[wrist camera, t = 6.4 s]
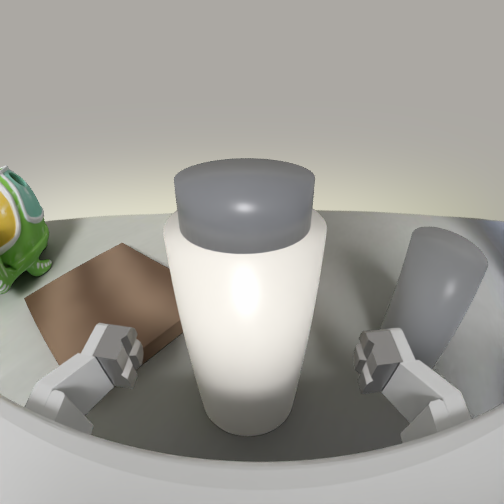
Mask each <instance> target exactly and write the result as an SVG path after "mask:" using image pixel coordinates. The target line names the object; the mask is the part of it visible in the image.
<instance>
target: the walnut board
mask: <svg viewBox="0 0 504 504" xmlns="http://www.w3.org/2000/svg"><path fill="white" fill-rule="evenodd" d="M24 299H25V301H26V304H27V306H28V308H29V310H30V312H31V314H32V317H33V319H34V321H35V323H36V325H37V327H38V329H39V330H40V332H41V334H42V336H43V338H44V340H45V342H46V343H47V345H48V347H49V349H50V350H51V352H52V354H53V356H54V357H55V359H56V361H57V362H58V364H59V365H61V364H63V363H64V362H66V361H67V360H69V359H70V358H71V357H73V356H74V355H76V354H77V353H80V354H81V352H82V350H83V348H84V346H85V345H86V343H87V341H88V339H89V337H90V335H91V333H92V331H93V330H94V328H95V326H96V325H97V324H98V323H105V324H112V325H118V326H125V327H132V328H135V330H136V332H137V334H138V335H137V337H136V339H137V340H139V341H140V342H141V344H142V346H143V352H144V353H143V361H142V364H143V363H145V362H146V361H147V360H149V359H150V358H151V357H152V356H154V355H155V354H156V353H157V352H159V351H160V350H161V349H162V348H164V347H165V346H166V345H168V344H169V343H170V342H171V341H173V340H174V339H175V338H176V337H178V336H179V335H180V334H181V333H183V329H182V325H181V320H180V316H179V312H178V307H177V303H176V298H175V293H174V288H173V284H172V279H171V273H170V269H169V268H167V267H165V266H163V265H161V264H160V263H158V262H156V261H154V260H152V259H150V258H149V257H147V256H145V255H143V254H141V253H140V252H138V251H136V250H134V249H132V248H131V247H129V246H127V245H125V244H124V243H121V244H119V245H117V246H115V247H113V248H111V249H110V250H108V251H106V252H104V253H102V254H100V255H98V256H96V257H95V258H93V259H91V260H89V261H87V262H85V263H84V264H82V265H80V266H78V267H76V268H75V269H73V270H71V271H69V272H67V273H66V274H64V275H62V276H61V277H59V278H57V279H55V280H54V281H52V282H50V283H49V284H47V285H45V286H44V287H42V288H40V289H39V290H37V291H35V292H34V293H32V294H30V295H29V296H27V297H26V298H24ZM142 364H141V365H142Z"/></svg>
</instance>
